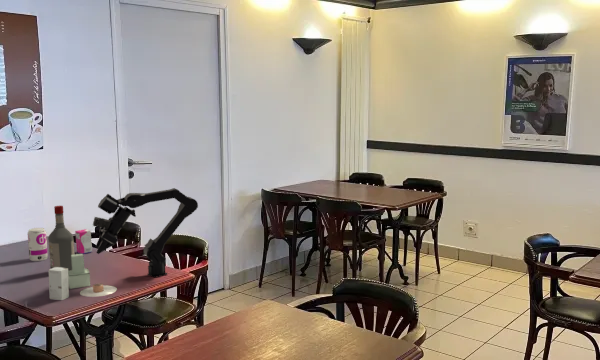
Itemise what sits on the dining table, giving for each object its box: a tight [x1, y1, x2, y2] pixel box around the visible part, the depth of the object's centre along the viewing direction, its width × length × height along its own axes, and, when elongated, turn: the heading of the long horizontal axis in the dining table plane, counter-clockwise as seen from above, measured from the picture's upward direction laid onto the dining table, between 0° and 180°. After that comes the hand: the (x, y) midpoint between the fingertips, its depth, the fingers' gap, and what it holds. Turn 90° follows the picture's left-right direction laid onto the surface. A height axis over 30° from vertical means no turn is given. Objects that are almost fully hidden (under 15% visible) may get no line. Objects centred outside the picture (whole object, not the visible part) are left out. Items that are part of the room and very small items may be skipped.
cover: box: [68, 253, 91, 290], centre depth 243 cm, size 8×8×12 cm
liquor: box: [48, 205, 75, 271], centre depth 262 cm, size 9×9×30 cm
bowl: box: [92, 282, 104, 293], centre depth 235 cm, size 4×4×3 cm
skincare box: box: [48, 267, 70, 301], centre depth 227 cm, size 6×4×12 cm
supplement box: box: [74, 228, 93, 255], centre depth 297 cm, size 6×6×12 cm
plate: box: [79, 285, 118, 298], centre depth 235 cm, size 14×14×1 cm
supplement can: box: [27, 227, 49, 262], centre depth 285 cm, size 8×8×15 cm
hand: (96, 250), depth 246 cm, fingers open, 9 cm apart
